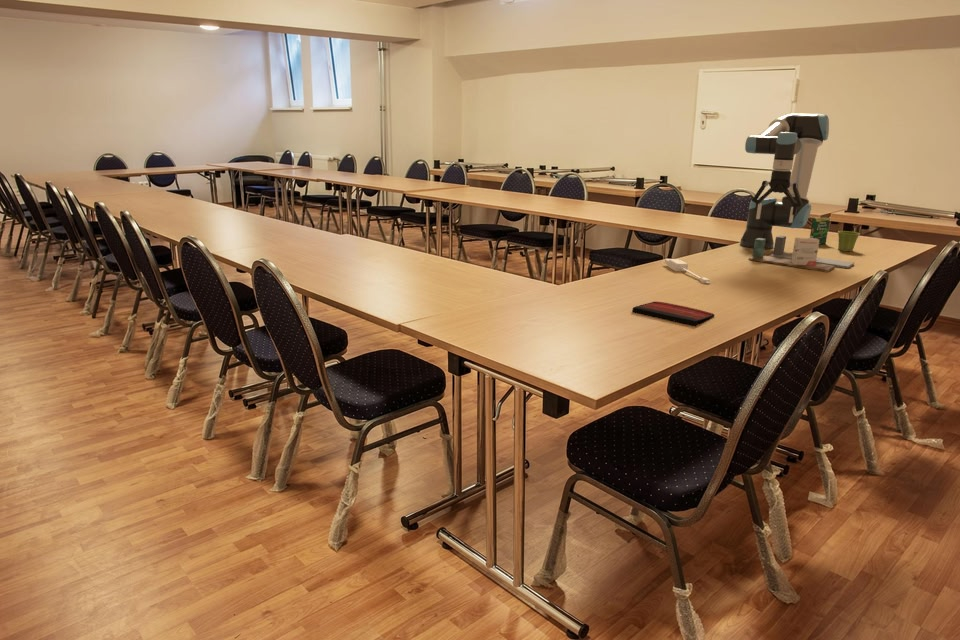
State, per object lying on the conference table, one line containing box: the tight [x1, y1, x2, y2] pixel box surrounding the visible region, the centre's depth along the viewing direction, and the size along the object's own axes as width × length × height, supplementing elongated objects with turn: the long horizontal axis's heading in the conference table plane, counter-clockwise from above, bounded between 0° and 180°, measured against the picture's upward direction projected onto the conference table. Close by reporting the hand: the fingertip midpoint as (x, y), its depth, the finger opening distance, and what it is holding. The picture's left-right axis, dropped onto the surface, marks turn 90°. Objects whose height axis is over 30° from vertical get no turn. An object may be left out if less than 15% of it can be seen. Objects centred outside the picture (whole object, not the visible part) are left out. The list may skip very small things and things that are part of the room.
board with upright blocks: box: [748, 238, 836, 273], centre depth 283 cm, size 32×11×9 cm, turn 50°
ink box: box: [792, 237, 820, 266], centre depth 279 cm, size 9×5×12 cm, turn 81°
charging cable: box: [664, 258, 712, 284], centre depth 261 cm, size 5×32×3 cm, turn 11°
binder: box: [632, 301, 715, 328], centre depth 208 cm, size 16×2×21 cm
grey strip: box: [769, 235, 855, 269], centre depth 291 cm, size 32×11×9 cm, turn 50°
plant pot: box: [837, 230, 861, 252], centre depth 317 cm, size 9×9×9 cm
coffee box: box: [809, 217, 831, 245], centre depth 332 cm, size 8×3×13 cm, turn 100°
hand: (773, 220), depth 285 cm, fingers open, 13 cm apart
